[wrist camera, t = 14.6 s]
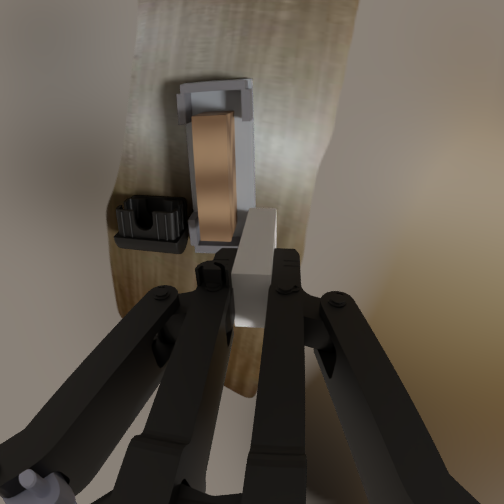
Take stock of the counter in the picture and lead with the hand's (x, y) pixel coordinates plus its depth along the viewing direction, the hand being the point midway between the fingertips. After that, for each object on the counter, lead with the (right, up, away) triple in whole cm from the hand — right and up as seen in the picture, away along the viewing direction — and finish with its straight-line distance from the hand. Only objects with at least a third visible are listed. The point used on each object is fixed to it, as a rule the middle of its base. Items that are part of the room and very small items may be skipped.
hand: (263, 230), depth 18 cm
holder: (-5, +11, +25) cm, 28 cm away
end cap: (-15, +4, +30) cm, 34 cm away
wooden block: (-5, +10, +24) cm, 27 cm away
